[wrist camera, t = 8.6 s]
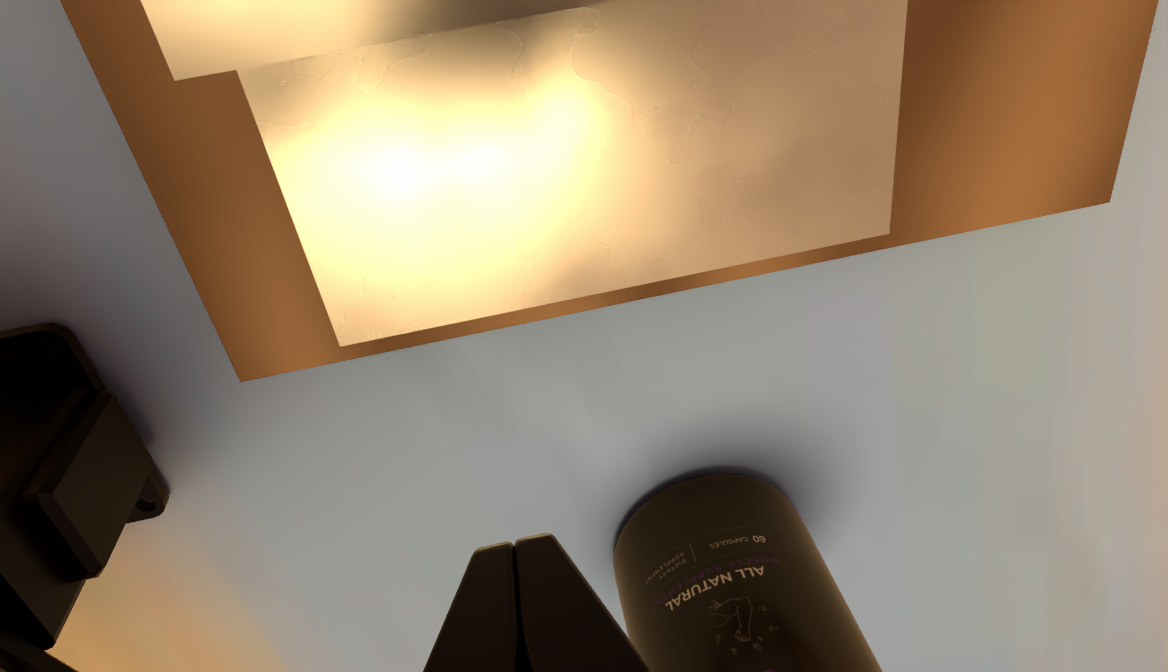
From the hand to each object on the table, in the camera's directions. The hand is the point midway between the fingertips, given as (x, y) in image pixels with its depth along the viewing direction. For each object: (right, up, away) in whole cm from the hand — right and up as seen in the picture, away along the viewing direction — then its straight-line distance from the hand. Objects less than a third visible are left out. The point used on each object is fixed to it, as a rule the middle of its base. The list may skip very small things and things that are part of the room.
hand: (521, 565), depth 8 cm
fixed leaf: (+1, +9, +9) cm, 12 cm away
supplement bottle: (+5, -5, +20) cm, 21 cm away
